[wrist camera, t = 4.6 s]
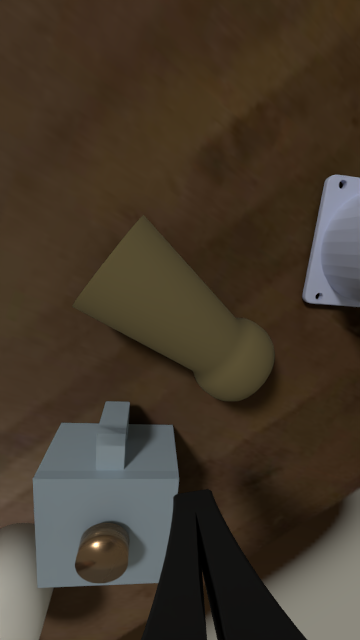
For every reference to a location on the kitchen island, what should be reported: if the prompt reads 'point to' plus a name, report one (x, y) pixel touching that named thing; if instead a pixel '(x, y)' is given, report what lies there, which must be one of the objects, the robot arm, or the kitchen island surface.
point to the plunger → (103, 553)
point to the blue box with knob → (105, 495)
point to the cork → (177, 315)
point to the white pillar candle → (20, 585)
